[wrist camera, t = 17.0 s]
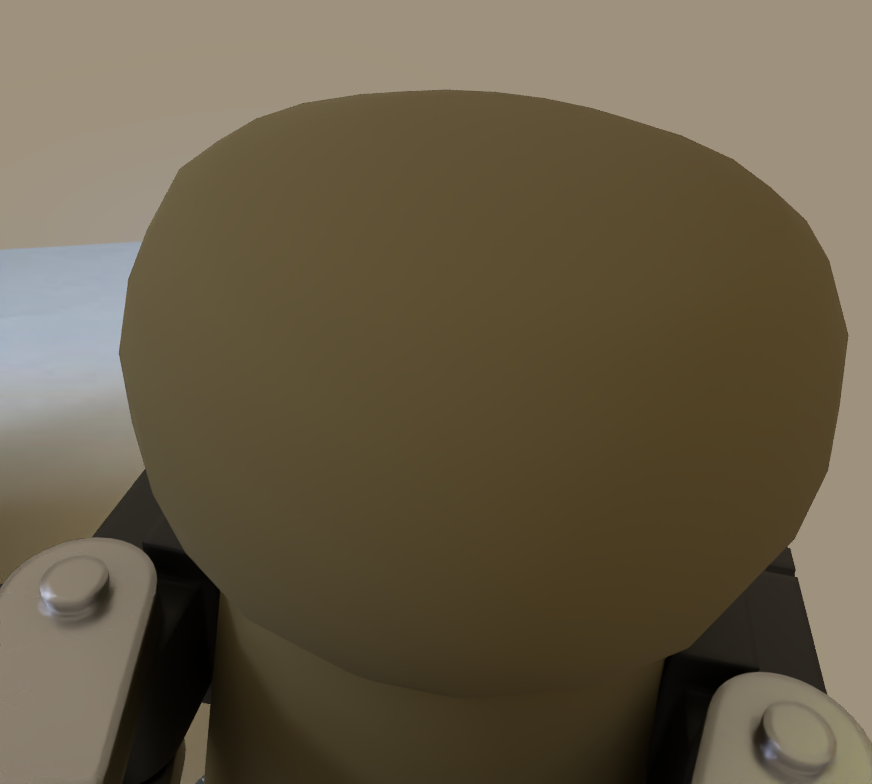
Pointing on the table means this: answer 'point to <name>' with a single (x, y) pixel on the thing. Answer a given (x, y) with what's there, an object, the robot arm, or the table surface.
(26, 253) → the table surface
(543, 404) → the cork
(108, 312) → the table surface
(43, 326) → the table surface
